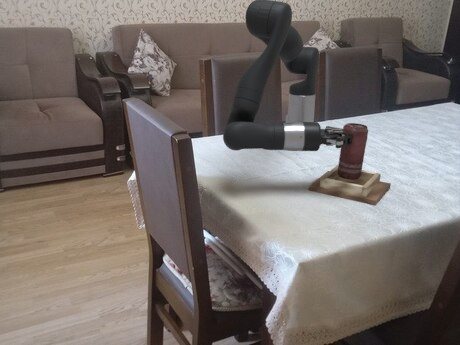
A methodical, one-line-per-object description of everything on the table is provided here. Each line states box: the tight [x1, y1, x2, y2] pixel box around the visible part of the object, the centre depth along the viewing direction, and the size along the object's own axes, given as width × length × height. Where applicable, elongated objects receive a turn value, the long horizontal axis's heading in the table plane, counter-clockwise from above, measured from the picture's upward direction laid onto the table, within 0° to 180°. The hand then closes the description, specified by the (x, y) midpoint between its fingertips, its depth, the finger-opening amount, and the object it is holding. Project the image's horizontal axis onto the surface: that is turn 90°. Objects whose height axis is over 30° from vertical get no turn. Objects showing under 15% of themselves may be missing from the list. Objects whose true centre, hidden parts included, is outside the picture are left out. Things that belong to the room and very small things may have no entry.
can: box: [337, 122, 369, 180], centre depth 119 cm, size 6×6×14 cm
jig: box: [307, 164, 392, 206], centre depth 122 cm, size 18×14×4 cm
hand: (366, 136), depth 118 cm, fingers closed
